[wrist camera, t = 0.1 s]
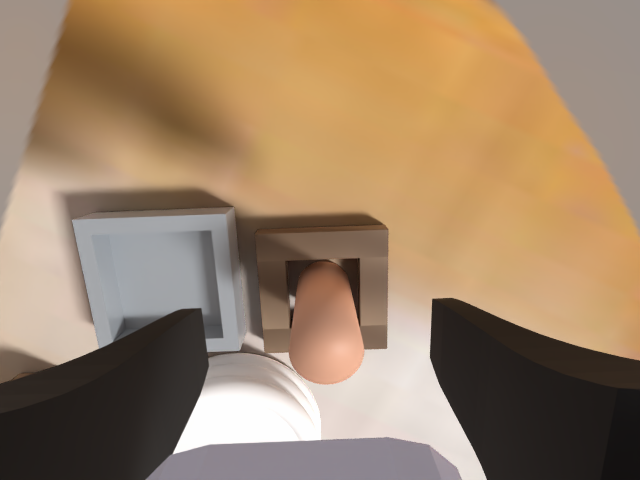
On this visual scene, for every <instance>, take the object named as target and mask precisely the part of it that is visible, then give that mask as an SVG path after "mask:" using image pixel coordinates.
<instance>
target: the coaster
mask: <svg viewBox="0 0 640 480" xmlns="http://www.w3.org/2000/svg"><path fill="white" fill-rule="evenodd" d="M208 362H209V368H208V372H207V375H206V379H205V382H204V385H203V388H202V391H201V394H200V397H199V399H198V401H197V403H196V406H195V408H194V410H193V412H192V414H191V416H190V419H189V421H188V423H187V425H186V427H185V429H184V431H183V433H182V435H181V438H180V440H179V442H178V444H177V446H176V448H175V450H174V452H173V454H176V453H179V452H183V451H187V450H191V449H194V448H198V447H202V446H205V445H209V444H233V443H258V442H283V441H309V440H321V431H320V429H321V420H320V412H319V409H318V406H317V403H316V401H315V398H314V396H313V394H312V392H311V391H310V389H309V388H308V386H307V385H306V384H305V382H304V381H303V380H302V379H301V378H300V377H299V376H298V375H297V374H296V373H295V372H294V371H292V370H291V369H290V368H288V367H287V366H285V365H283V364H282V363H280V362H278V361H275V360H273V359H271V358H268V357H264V356H261V355H256V354H250V353H228V354H222V355H217V356H214V357H211V358H208Z"/></svg>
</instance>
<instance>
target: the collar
mask: <svg viewBox="0 0 640 480" xmlns="http://www.w3.org/2000/svg"><path fill="white" fill-rule="evenodd" d="M255 245H256V256H257V268H258V280H259V292H260V304H261V316H262V328H263V339H264V351H265V353H284V352H289V345H290V337H291V329H292V322H293V319H291V314H290V298H289V282H288V266H287V261H292V260H318V259H345V258H358V316H357V319H358V323H359V327H360V332H361V336H362V340H363V345H364V349H387V308H388V228H387V227H386V226H385V225H358V226H331V227H305V228H278V229H258V230H257V232H256V233H255Z"/></svg>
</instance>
